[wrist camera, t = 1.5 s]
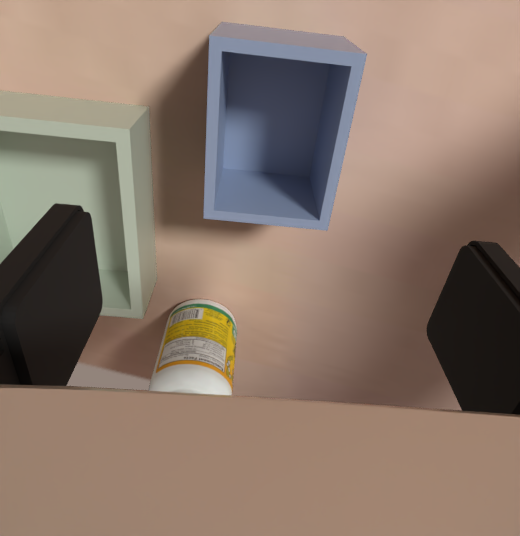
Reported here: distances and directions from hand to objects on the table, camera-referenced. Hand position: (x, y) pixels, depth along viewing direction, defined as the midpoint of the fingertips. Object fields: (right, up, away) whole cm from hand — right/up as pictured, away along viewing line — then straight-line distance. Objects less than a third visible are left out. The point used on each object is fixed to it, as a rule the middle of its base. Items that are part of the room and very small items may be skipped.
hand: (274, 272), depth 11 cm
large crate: (-12, +5, +16) cm, 21 cm away
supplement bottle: (-5, -4, +22) cm, 23 cm away
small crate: (0, +9, +13) cm, 16 cm away
